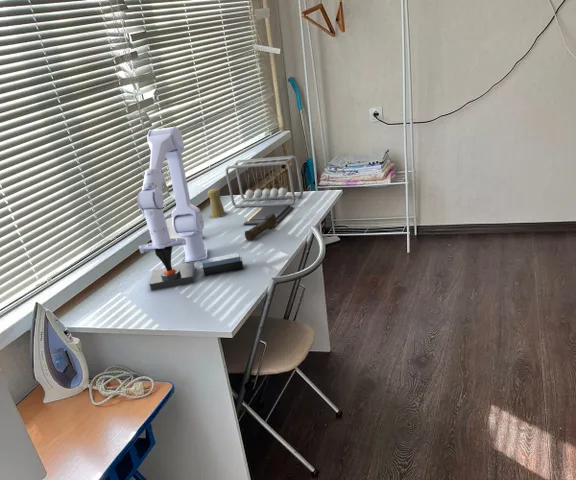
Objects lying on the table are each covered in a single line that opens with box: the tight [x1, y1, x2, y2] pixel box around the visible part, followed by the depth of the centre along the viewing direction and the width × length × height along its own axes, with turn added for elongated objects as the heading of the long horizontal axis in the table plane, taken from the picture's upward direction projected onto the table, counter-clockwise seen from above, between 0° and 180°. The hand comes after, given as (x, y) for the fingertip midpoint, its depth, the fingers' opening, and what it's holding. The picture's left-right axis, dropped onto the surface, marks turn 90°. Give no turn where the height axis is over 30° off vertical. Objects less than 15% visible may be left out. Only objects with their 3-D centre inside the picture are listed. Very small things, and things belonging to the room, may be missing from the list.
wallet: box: [243, 205, 294, 226], centre depth 246 cm, size 20×2×15 cm
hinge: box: [165, 216, 204, 239], centre depth 237 cm, size 17×5×10 cm, turn 73°
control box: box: [149, 262, 196, 292], centre depth 201 cm, size 13×14×4 cm
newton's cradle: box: [225, 155, 304, 208], centre depth 260 cm, size 30×10×18 cm, turn 69°
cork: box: [207, 188, 226, 218], centre depth 257 cm, size 6×6×11 cm
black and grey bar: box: [201, 252, 245, 277], centre depth 200 cm, size 4×13×4 cm, turn 96°
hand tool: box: [244, 214, 278, 242], centre depth 229 cm, size 19×4×5 cm, turn 146°
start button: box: [165, 268, 175, 275], centre depth 196 cm, size 3×3×2 cm
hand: (169, 269), depth 196 cm, fingers closed, pressing on start button
